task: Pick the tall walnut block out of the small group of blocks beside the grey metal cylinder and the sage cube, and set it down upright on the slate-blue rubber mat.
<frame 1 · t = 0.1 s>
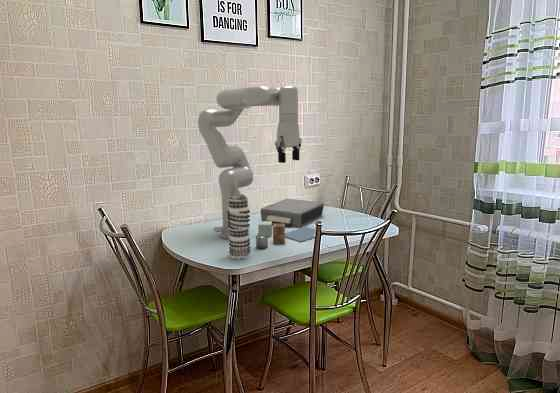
hand: (289, 161, 169), 37 cm above the table, tool pointing down, fingers open, 9 cm apart
mat: (303, 235, 195), on the table
grey cylinder: (262, 247, 179), on the table
walnut block: (279, 242, 185), on the table
decorative candle: (240, 255, 169), on the table
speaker: (292, 220, 223), on the table
sage cube: (265, 235, 196), on the table
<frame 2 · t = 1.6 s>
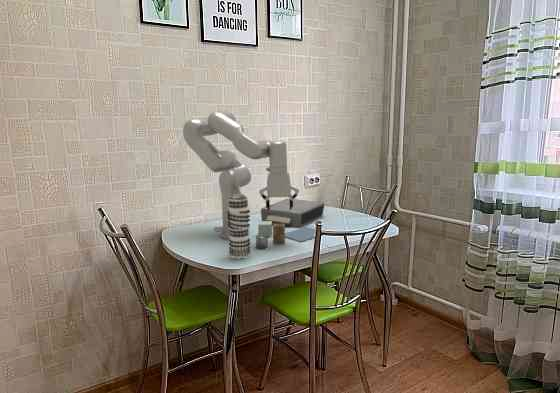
hand: (279, 209, 182), 15 cm above the table, tool pointing down, fingers open, 9 cm apart
nothing on the table moved.
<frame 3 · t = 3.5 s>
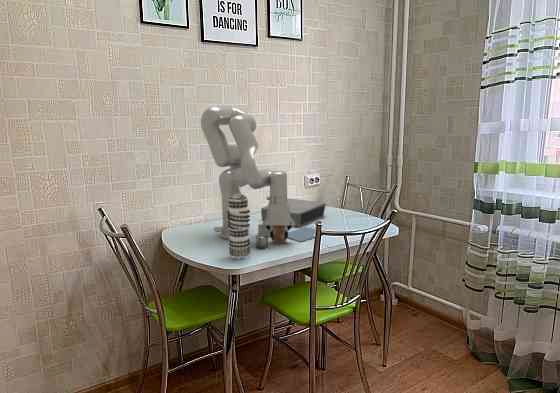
hand: (279, 239, 185), 1 cm above the table, tool pointing down, fingers closed on walnut block, 5 cm apart
walnut block: (279, 242, 185), on the table, touching gripper
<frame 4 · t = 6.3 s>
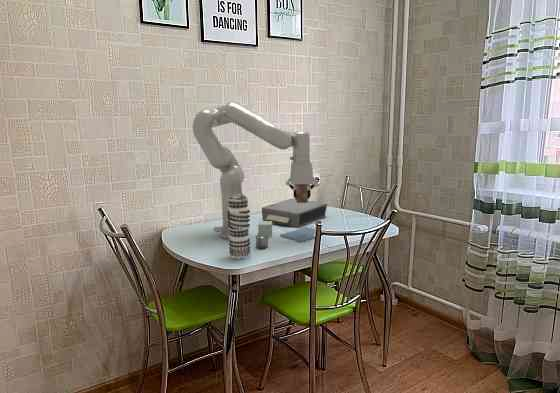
hand: (302, 198, 191), 18 cm above the table, tool pointing down, fingers closed on walnut block, 5 cm apart
walnut block: (302, 201, 191), point 16 cm above the table, touching gripper
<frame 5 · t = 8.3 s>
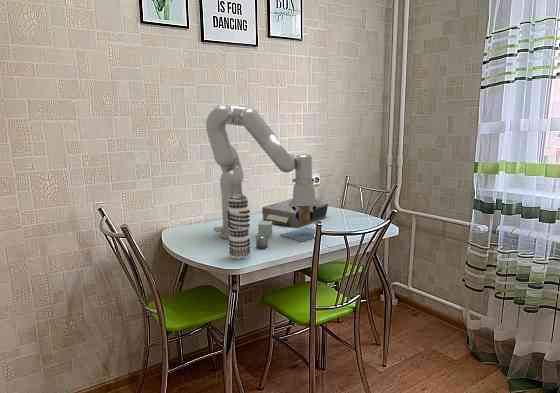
hand: (304, 219, 194), 8 cm above the table, tool pointing down, fingers closed on walnut block, 5 cm apart
walnut block: (304, 222, 194), point 6 cm above the table, touching gripper
when the fingers open (3 cm above the table, at t = 9.5 s): walnut block drops 1 cm, resting on mat.
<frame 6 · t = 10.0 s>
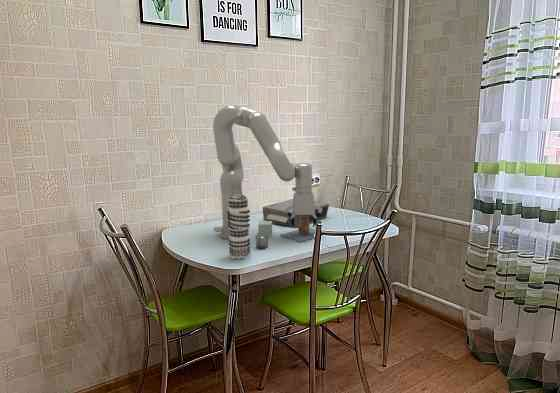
hand: (303, 226, 195), 4 cm above the table, tool pointing down, fingers open, 9 cm apart
walnut block: (303, 233, 195), point 1 cm above the table, touching mat
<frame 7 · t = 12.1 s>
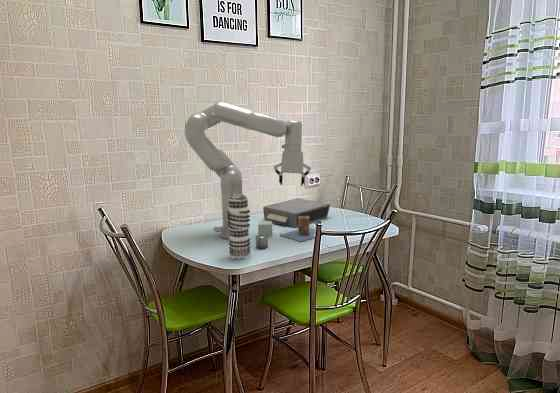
hand: (291, 184, 194), 23 cm above the table, tool pointing down, fingers open, 9 cm apart
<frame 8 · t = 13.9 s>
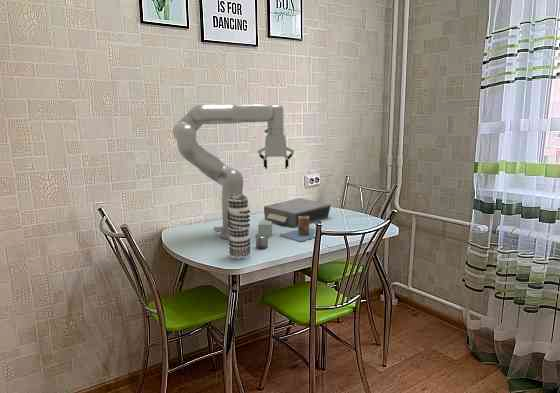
hand: (276, 168, 199), 30 cm above the table, tool pointing down, fingers open, 9 cm apart
at the end: walnut block inside the target area on the mat (0.1 cm from its centre), point 0.6 cm above the mat's base; walnut block tilted 0°; the gripper is holding nothing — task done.
